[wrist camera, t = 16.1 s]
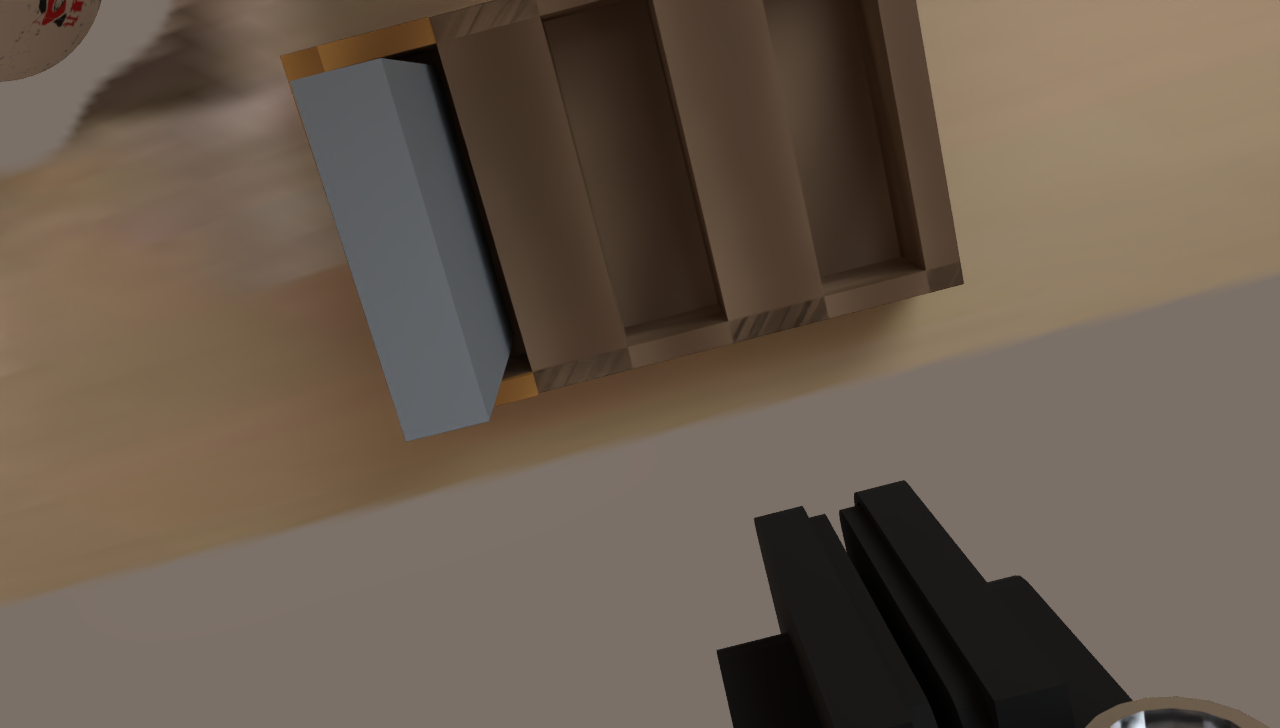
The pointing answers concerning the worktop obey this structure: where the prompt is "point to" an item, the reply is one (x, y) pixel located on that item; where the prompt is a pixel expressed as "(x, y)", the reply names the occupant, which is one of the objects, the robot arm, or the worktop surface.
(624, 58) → the rack
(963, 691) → the robot arm
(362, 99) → the panel
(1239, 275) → the worktop surface
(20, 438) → the worktop surface
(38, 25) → the teacup with lid
